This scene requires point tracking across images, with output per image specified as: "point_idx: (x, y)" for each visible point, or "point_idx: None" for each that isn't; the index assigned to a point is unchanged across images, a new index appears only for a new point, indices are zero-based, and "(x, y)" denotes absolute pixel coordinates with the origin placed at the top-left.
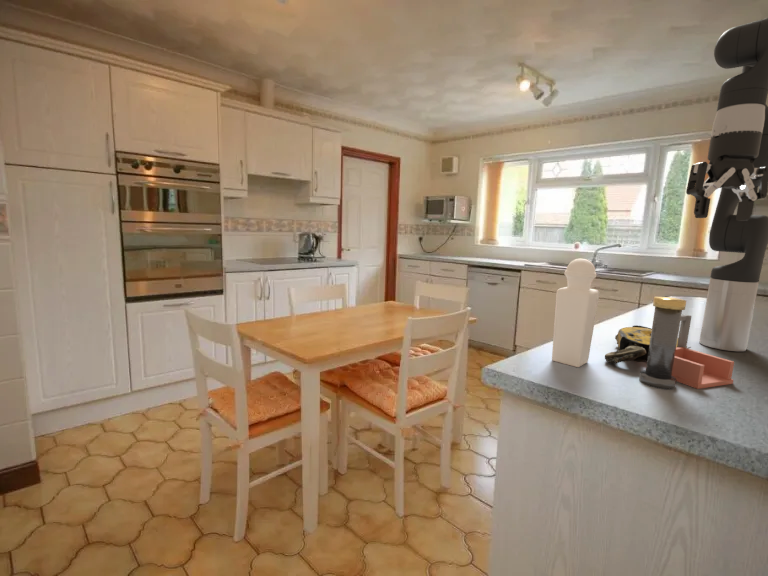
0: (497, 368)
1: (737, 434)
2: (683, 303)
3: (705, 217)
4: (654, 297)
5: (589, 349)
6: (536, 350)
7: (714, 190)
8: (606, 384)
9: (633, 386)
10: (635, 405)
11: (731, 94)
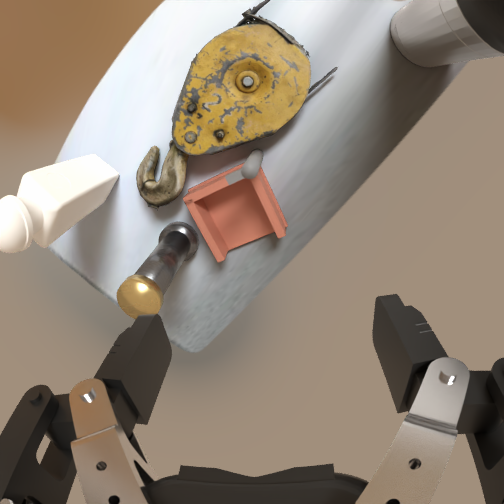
0: None
1: (195, 338)
2: None
3: (168, 349)
4: (117, 292)
5: (109, 182)
6: (68, 139)
7: (148, 465)
8: (122, 253)
9: (148, 254)
10: None
11: None
